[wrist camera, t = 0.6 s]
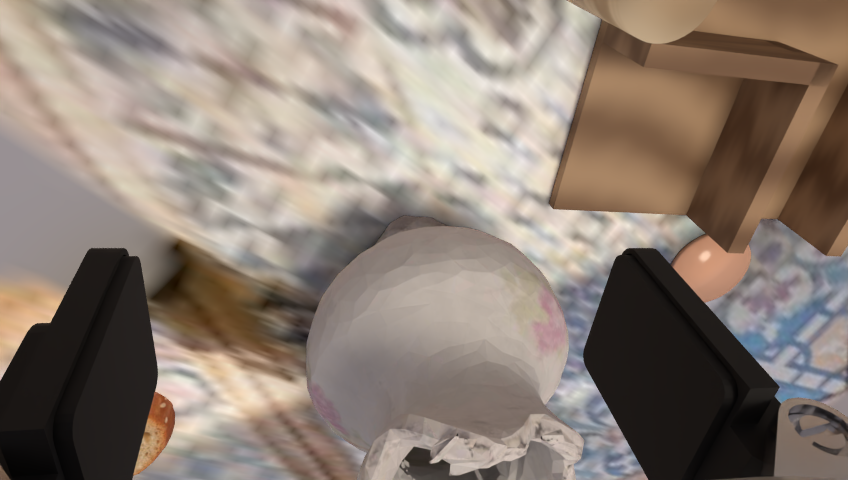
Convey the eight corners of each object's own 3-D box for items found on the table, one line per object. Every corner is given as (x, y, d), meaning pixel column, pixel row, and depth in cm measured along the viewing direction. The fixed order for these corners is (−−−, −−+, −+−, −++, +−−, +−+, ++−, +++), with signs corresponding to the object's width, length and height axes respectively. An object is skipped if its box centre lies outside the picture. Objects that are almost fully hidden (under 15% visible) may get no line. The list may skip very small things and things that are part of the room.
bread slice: (189, 396, 55) (183, 428, 52) (130, 513, 62) (121, 548, 59) (-40, 344, 48) (-63, 378, 44) (-77, 484, 55) (-99, 522, 52)
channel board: (648, -141, 37) (713, -140, 32) (939, -83, 43) (1040, -74, 37) (548, 203, 50) (582, 248, 44) (783, 214, 55) (841, 256, 50)
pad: (686, 229, 54) (690, 232, 54) (760, 232, 56) (764, 235, 56) (655, 299, 58) (658, 303, 58) (726, 300, 60) (729, 303, 60)
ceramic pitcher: (575, 266, 56) (765, 487, 35) (443, 407, 61) (539, 677, 39) (394, 138, 46) (506, 339, 25) (254, 320, 51) (246, 618, 29)
